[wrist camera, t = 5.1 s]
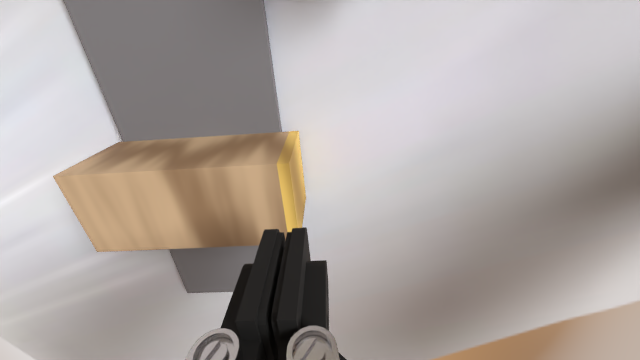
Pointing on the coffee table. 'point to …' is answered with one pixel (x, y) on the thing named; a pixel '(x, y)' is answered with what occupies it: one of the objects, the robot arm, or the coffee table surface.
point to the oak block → (188, 191)
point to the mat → (184, 87)
